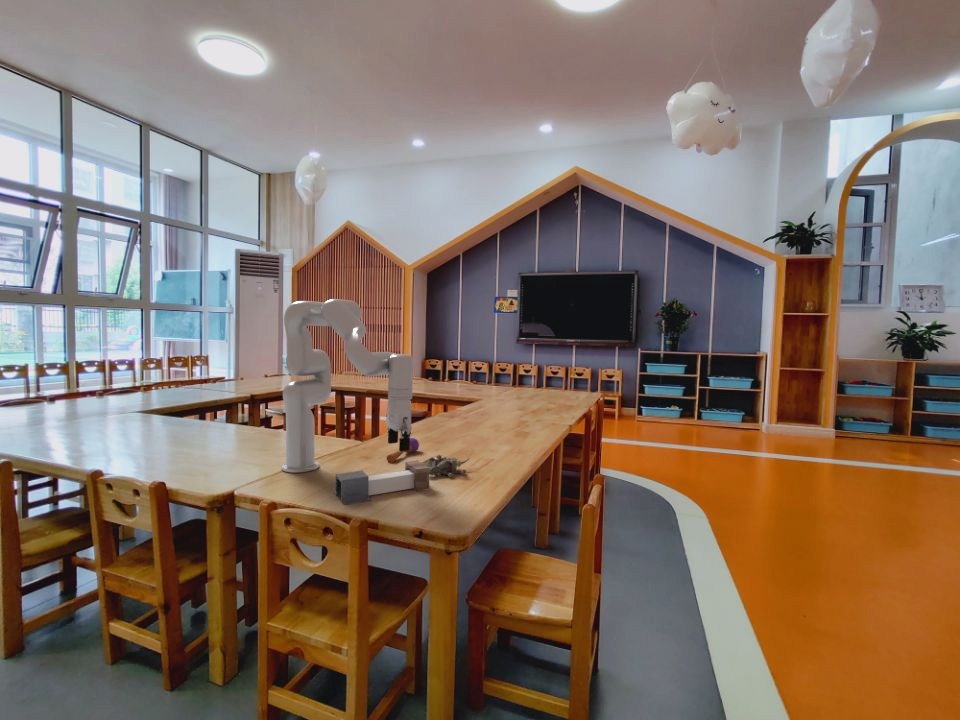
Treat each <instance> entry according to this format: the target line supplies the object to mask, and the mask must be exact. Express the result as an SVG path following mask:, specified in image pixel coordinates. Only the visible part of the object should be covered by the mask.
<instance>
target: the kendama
mask: <svg viewBox="0 0 960 720" xmlns="http://www.w3.org/2000/svg"><path fill="white" fill-rule="evenodd" d="M419 447H420V443H419V440H417V439H416V438H414V437H410V448H409V450H408V451H399V450H398V451H396V452H392V453H390V454H388V455H386V460H387V462H388V463H390V464H391V463H394V462H395V461H396V460H397V459H399V457H401V456H402V454H403V453H406V454H407V453H408V454H409V453H416V452H417V450H419Z"/></svg>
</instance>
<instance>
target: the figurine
mask: <svg viewBox="0 0 960 720" xmlns="http://www.w3.org/2000/svg"><path fill="white" fill-rule="evenodd" d="M470 459H471V457H469V458H467V459H466V460H462V461H461V460H459V459H458V458H455V457H450V458H447V457H445V456H443V454H441V455H440V454H439V455H437V456H434V457H430V458H428V459H427V460H424V461H423V462H421V463H423V464H424V465H426V466H428V467H429V476H437V474H441V475H444V476H448V478H451V477H453V476H454V474H462V475H465V473H466V472H467V471H466V470H465V469H457V468H460V467H461V465H463V464H465V463H467V462H468V461H469V460H470Z"/></svg>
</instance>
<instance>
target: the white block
mask: <svg viewBox="0 0 960 720" xmlns="http://www.w3.org/2000/svg"><path fill="white" fill-rule="evenodd" d="M368 476H369V477H368V497H370V496H372V495H373V496H375V495H380V494H386V493H392V492H398V491H405V490H410V489H414V472H413V471H412V470H406V471H405V470H401V471H395V472H393V471H392V472H385V473H381V474H373V475H368Z"/></svg>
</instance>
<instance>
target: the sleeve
mask: <svg viewBox="0 0 960 720" xmlns="http://www.w3.org/2000/svg"><path fill="white" fill-rule="evenodd" d="M369 476H370V475H368V474H366V472H364V471H363V470H355V471H348V472H341V473H335V491H333V494H334V495H335V496H336V497H339V496H340V502H341V504H342V505H343V506H347V505H353V504H360V503H364V502H365V503H366V502H371V501H372V498H370V496H368V477H369Z"/></svg>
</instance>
